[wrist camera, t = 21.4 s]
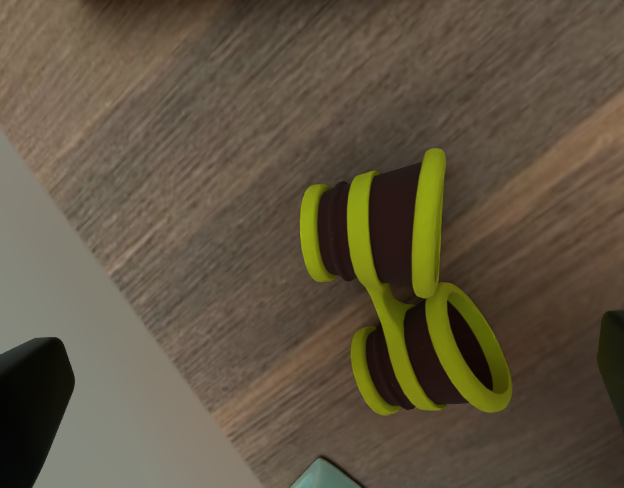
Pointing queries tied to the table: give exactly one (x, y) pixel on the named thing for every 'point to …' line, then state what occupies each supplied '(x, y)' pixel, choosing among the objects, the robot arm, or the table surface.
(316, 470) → the planter
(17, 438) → the robot arm
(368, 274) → the opera glasses
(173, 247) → the table surface
